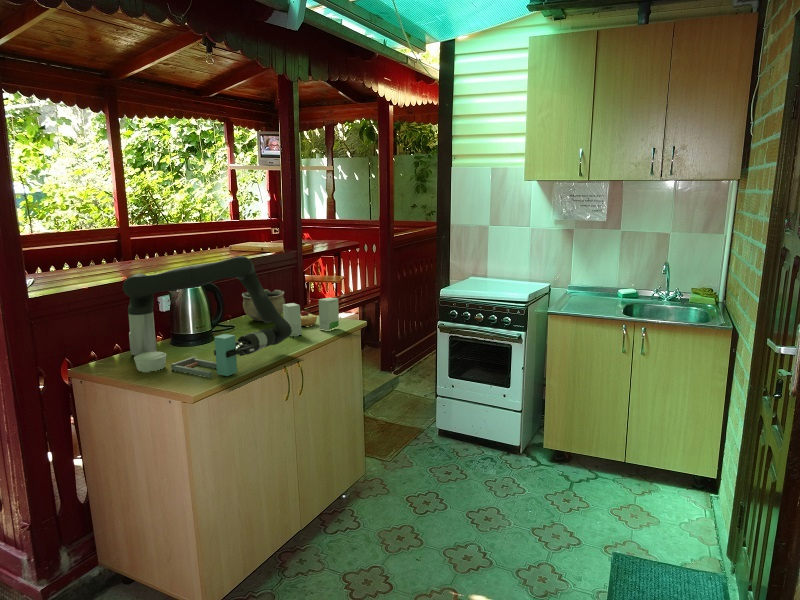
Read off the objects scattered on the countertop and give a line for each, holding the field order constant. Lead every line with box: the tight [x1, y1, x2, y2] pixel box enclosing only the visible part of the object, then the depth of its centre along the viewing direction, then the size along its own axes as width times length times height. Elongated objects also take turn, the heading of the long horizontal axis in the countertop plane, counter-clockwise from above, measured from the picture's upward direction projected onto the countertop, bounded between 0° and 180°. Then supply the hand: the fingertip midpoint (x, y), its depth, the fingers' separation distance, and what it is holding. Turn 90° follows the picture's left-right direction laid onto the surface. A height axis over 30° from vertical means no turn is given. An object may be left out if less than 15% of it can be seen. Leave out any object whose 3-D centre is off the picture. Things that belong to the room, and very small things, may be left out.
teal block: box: [214, 333, 238, 377], centre depth 192 cm, size 5×5×14 cm
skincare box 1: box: [282, 302, 303, 338], centre depth 250 cm, size 8×6×15 cm
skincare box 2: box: [318, 297, 340, 330], centre depth 260 cm, size 8×7×16 cm
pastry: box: [300, 307, 318, 327], centre depth 269 cm, size 12×12×9 cm
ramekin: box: [133, 351, 167, 373], centre depth 200 cm, size 11×11×5 cm
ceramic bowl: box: [241, 289, 286, 322], centre depth 279 cm, size 22×22×15 cm
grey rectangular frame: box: [170, 356, 217, 379], centre depth 199 cm, size 19×10×2 cm, turn 64°
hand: (220, 353), depth 189 cm, fingers closed on teal block, 5 cm apart
